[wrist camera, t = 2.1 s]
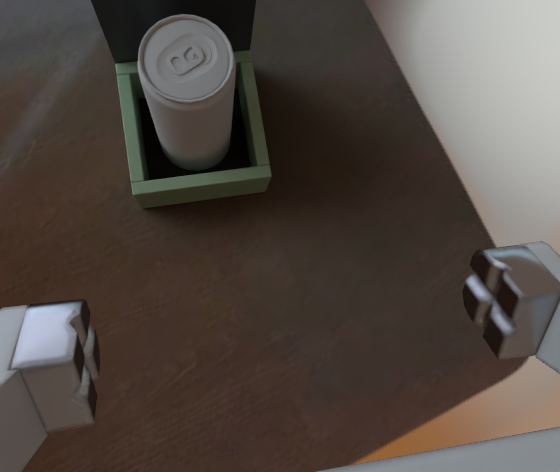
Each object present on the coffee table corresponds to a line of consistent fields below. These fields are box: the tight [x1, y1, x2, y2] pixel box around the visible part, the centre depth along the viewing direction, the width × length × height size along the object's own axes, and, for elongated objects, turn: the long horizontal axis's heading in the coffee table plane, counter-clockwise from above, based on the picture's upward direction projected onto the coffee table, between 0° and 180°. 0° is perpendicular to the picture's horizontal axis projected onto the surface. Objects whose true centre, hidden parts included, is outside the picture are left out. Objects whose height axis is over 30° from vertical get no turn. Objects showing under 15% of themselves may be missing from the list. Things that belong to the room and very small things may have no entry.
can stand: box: [91, 0, 272, 209], centre depth 30 cm, size 10×9×14 cm
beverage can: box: [137, 14, 236, 171], centre depth 31 cm, size 5×5×12 cm
